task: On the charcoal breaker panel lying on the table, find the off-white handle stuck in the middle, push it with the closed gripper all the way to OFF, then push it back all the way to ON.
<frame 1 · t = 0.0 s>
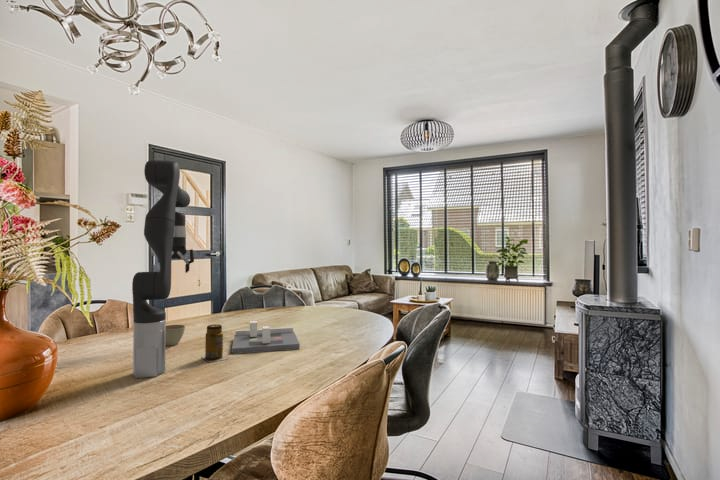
hand: (176, 272, 166), 29 cm above the table, tool pointing down, fingers open, 8 cm apart
flower pot: (171, 344, 157), on the table
condiment: (214, 358, 139), on the table
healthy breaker: (253, 328, 163), point 5 cm above the table, slide at 10.0 cm
tripped breaker: (266, 334, 153), point 5 cm above the table, slide at 5.0 cm
breaker panel: (265, 343, 158), on the table
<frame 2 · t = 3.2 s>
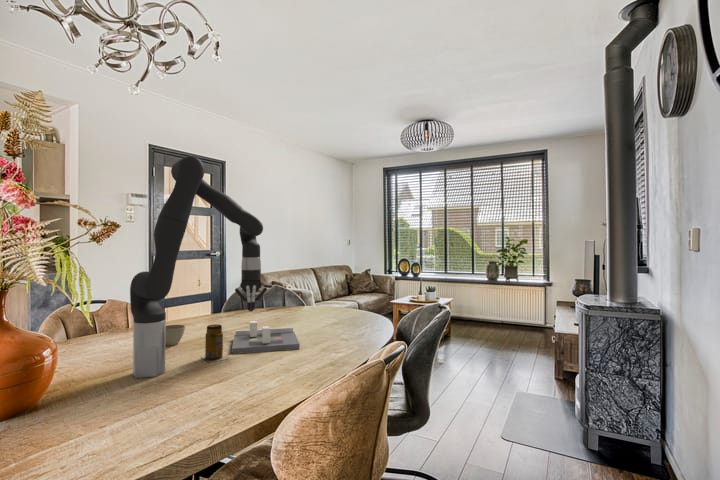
hand: (251, 311, 151), 15 cm above the table, tool pointing down, fingers closed
nothing on the table moved.
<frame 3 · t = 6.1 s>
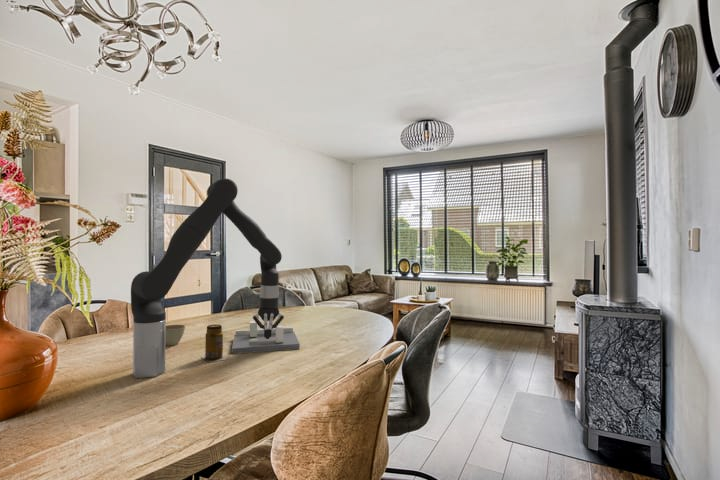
hand: (267, 338, 153), 4 cm above the table, tool pointing down, fingers closed
tripped breaker: (279, 333, 154), point 5 cm above the table, slide at -0.3 cm, touching gripper, hand
everything else where it was.
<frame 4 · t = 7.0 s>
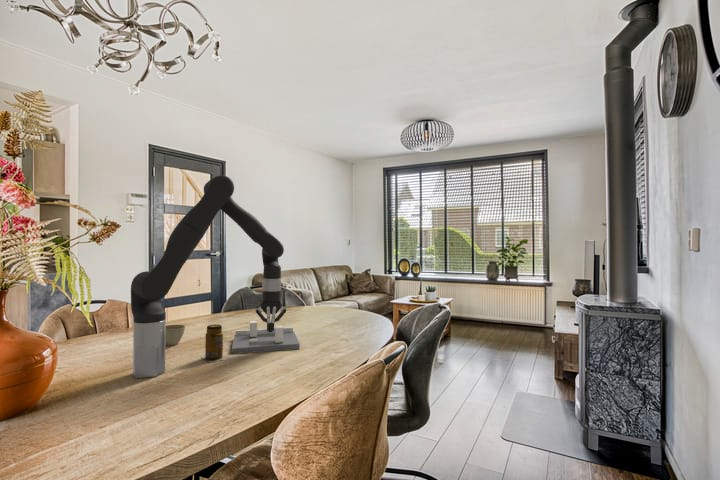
hand: (270, 331, 153), 6 cm above the table, tool pointing down, fingers closed
tripped breaker: (278, 333, 154), point 5 cm above the table, slide at -0.1 cm
everything else where it was.
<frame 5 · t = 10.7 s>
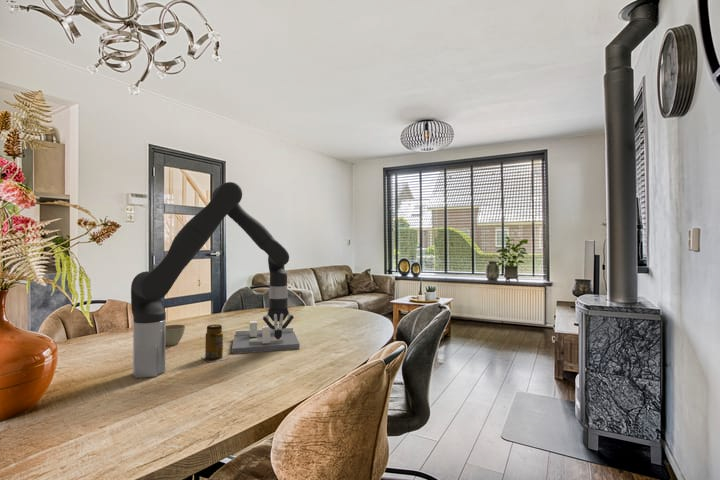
hand: (278, 338, 154), 3 cm above the table, tool pointing down, fingers closed
tripped breaker: (266, 334, 153), point 5 cm above the table, slide at 5.0 cm, touching hand
everything else where it was.
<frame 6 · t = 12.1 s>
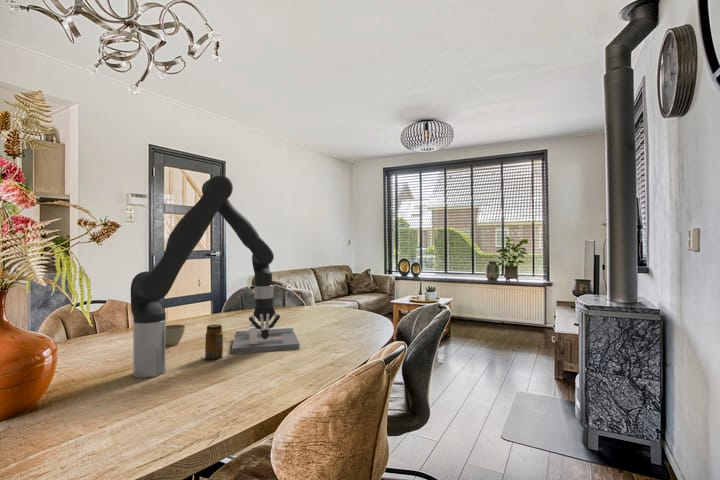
hand: (265, 338, 152), 4 cm above the table, tool pointing down, fingers closed
tripped breaker: (253, 335, 151), point 5 cm above the table, slide at 10.2 cm, touching gripper, hand
everything else where it was.
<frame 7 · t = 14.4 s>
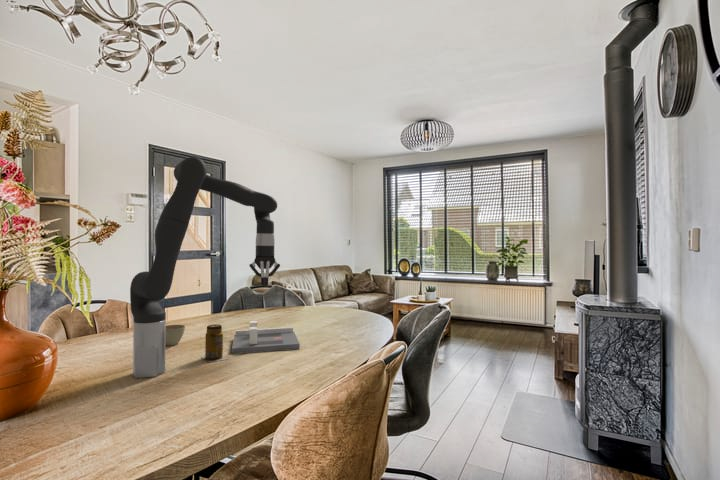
hand: (264, 286, 154), 25 cm above the table, tool pointing down, fingers closed
tripped breaker: (253, 335, 151), point 5 cm above the table, slide at 10.1 cm
everything else where it was.
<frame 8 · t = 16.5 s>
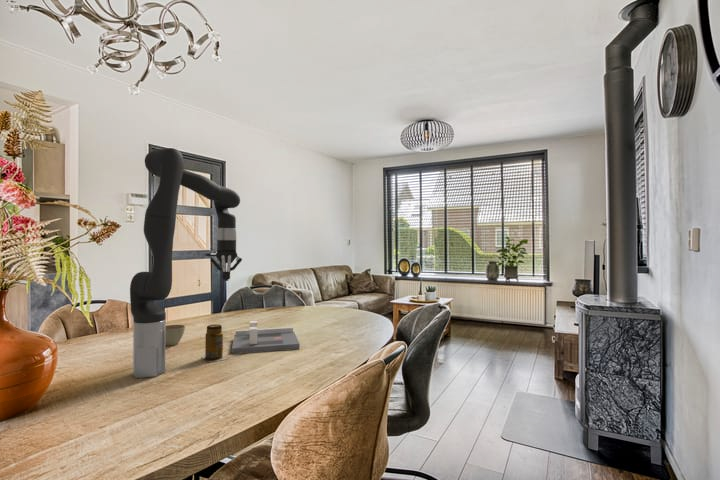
hand: (226, 280, 156), 27 cm above the table, tool pointing down, fingers closed
nothing on the table moved.
at the end: tripped breaker slide at 10.1 cm; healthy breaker slide at 10.0 cm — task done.
